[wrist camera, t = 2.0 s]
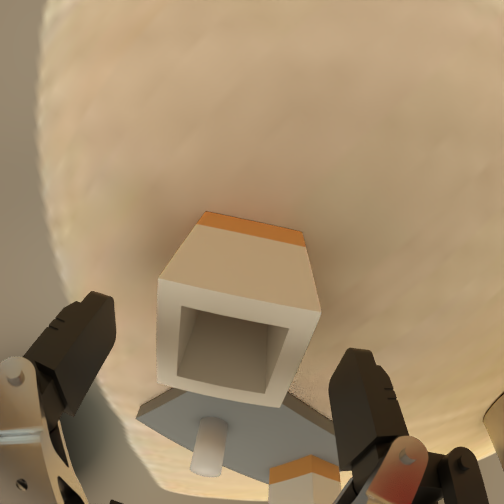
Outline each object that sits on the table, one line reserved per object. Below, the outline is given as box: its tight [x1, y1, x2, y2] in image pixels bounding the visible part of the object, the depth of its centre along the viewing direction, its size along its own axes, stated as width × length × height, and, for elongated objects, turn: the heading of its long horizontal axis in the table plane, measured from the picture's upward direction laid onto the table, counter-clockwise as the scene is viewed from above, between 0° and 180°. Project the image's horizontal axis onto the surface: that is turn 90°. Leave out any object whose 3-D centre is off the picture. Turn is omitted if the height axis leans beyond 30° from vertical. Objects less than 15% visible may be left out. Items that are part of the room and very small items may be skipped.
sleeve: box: [156, 211, 322, 408], centre depth 13 cm, size 5×5×7 cm
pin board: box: [136, 388, 341, 504], centre depth 19 cm, size 20×12×8 cm, turn 44°
